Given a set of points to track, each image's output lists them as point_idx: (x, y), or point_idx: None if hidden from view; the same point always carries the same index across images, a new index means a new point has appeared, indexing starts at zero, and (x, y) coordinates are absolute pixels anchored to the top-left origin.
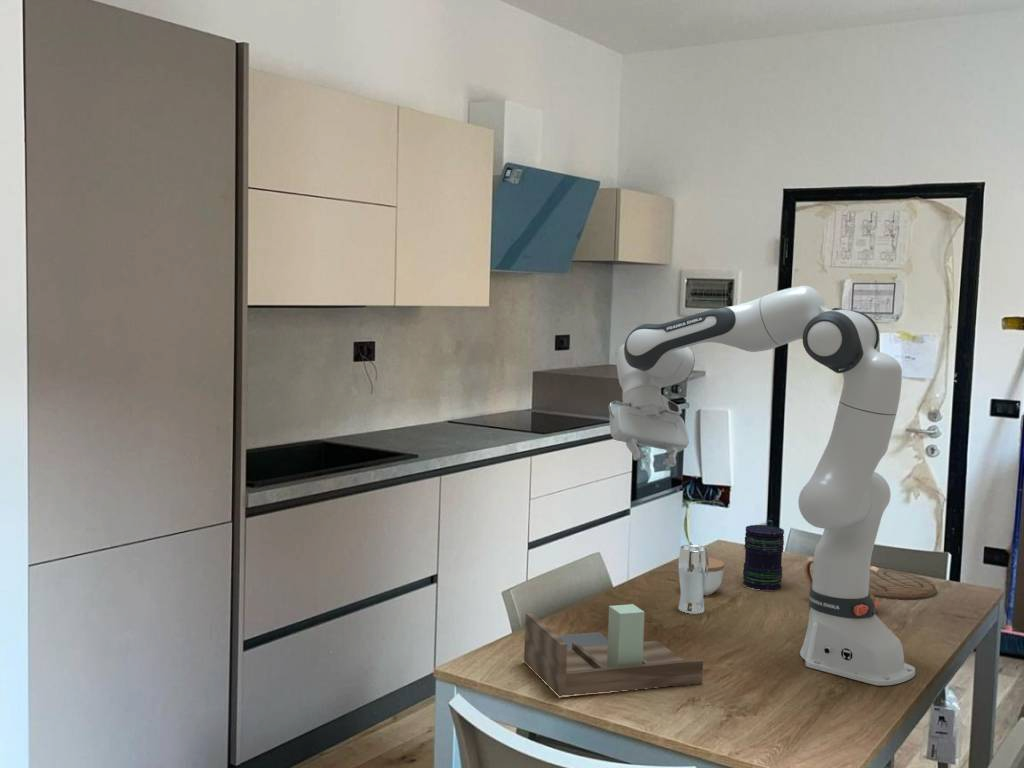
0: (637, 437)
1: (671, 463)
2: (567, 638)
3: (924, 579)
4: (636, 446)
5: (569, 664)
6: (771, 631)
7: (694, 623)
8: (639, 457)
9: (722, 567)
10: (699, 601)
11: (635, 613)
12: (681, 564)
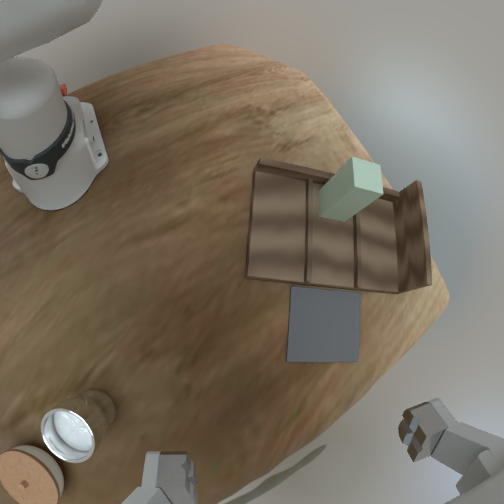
0: (495, 473)
1: (183, 451)
2: (335, 347)
3: None
4: (472, 433)
5: (375, 243)
6: (48, 282)
7: (125, 356)
8: (428, 401)
9: (5, 451)
10: (89, 394)
11: (362, 160)
12: (102, 430)
